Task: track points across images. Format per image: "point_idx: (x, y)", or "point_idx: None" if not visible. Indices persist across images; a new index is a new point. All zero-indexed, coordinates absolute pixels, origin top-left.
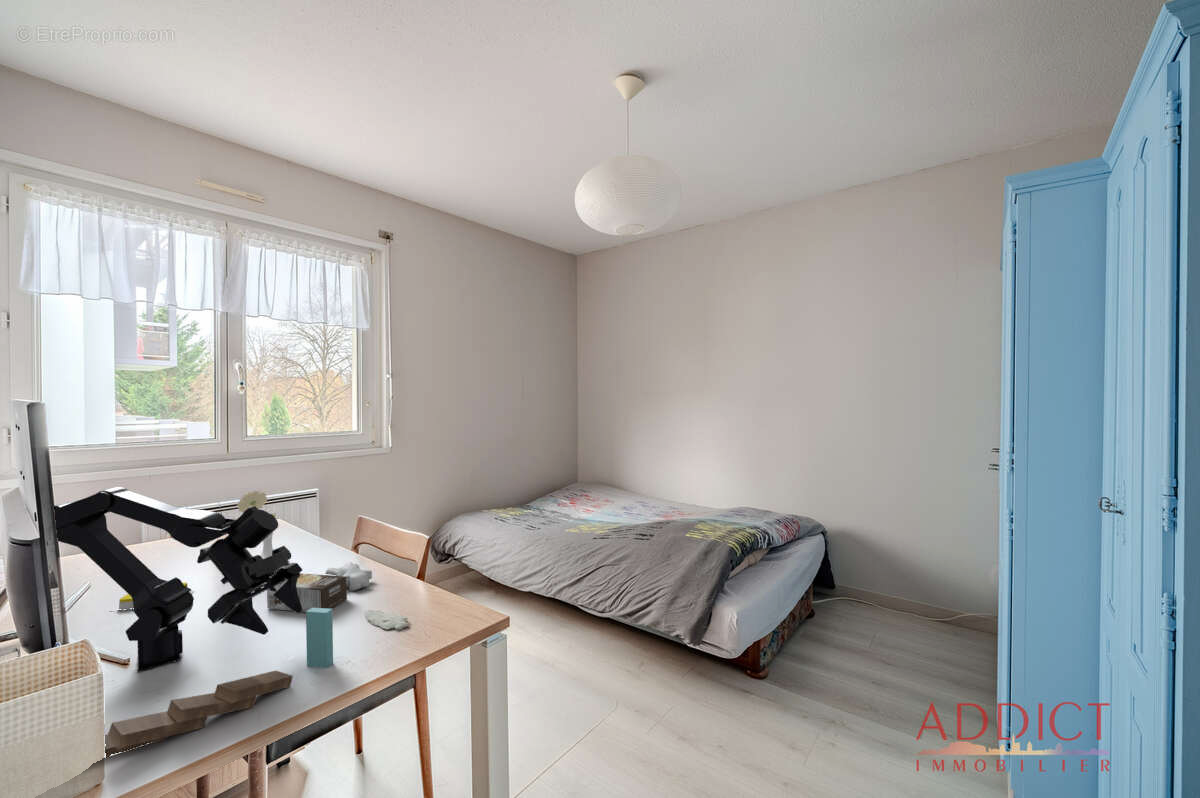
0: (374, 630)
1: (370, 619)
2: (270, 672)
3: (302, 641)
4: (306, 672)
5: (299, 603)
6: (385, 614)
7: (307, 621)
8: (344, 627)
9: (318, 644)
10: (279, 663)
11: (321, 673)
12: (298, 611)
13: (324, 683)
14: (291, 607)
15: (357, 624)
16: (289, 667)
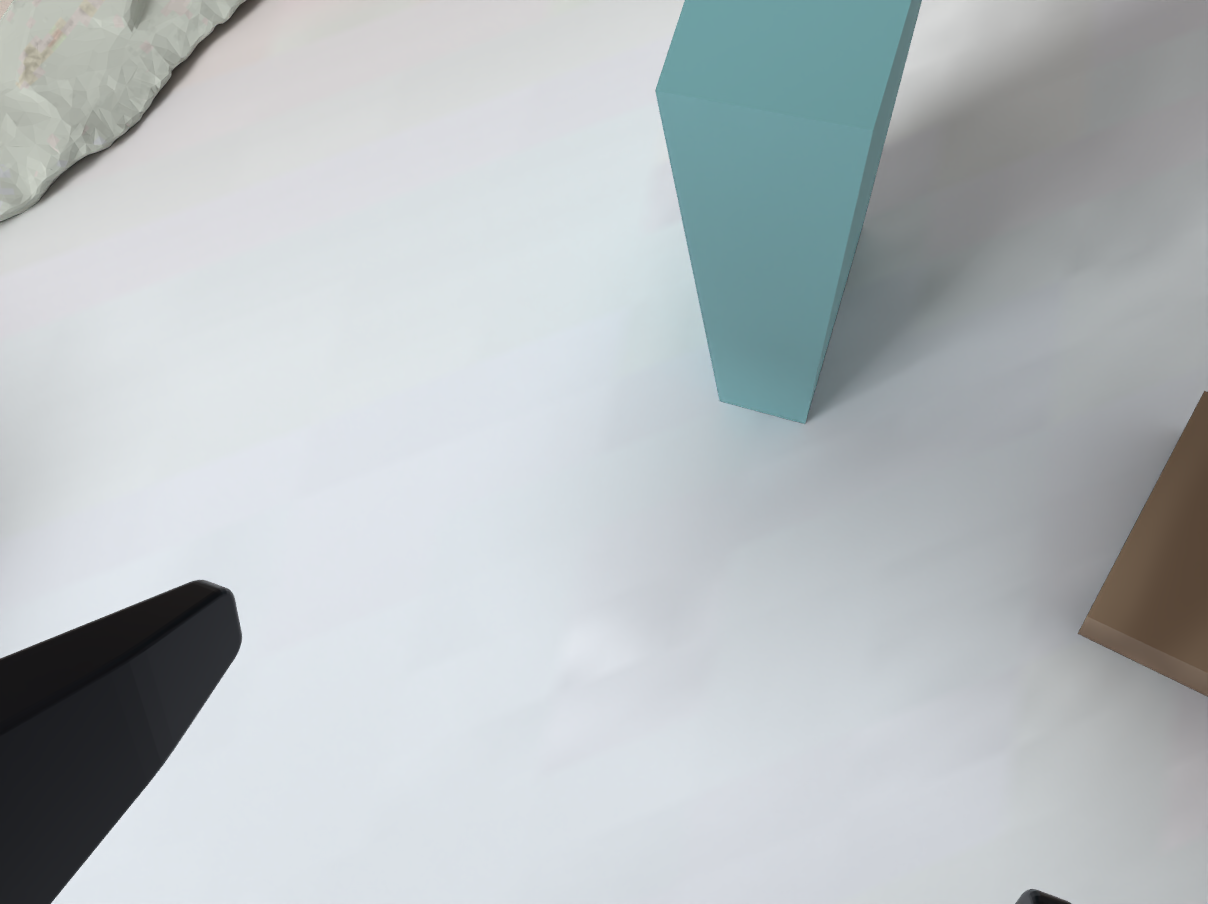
0: (240, 80)
1: (57, 152)
2: (1190, 642)
3: (289, 662)
4: (922, 382)
5: (81, 645)
6: (14, 40)
7: (856, 210)
8: (109, 363)
9: (864, 206)
10: (700, 721)
11: (960, 238)
12: (220, 642)
13: (1150, 142)
14: (114, 796)
15: (84, 267)
16: (799, 586)
